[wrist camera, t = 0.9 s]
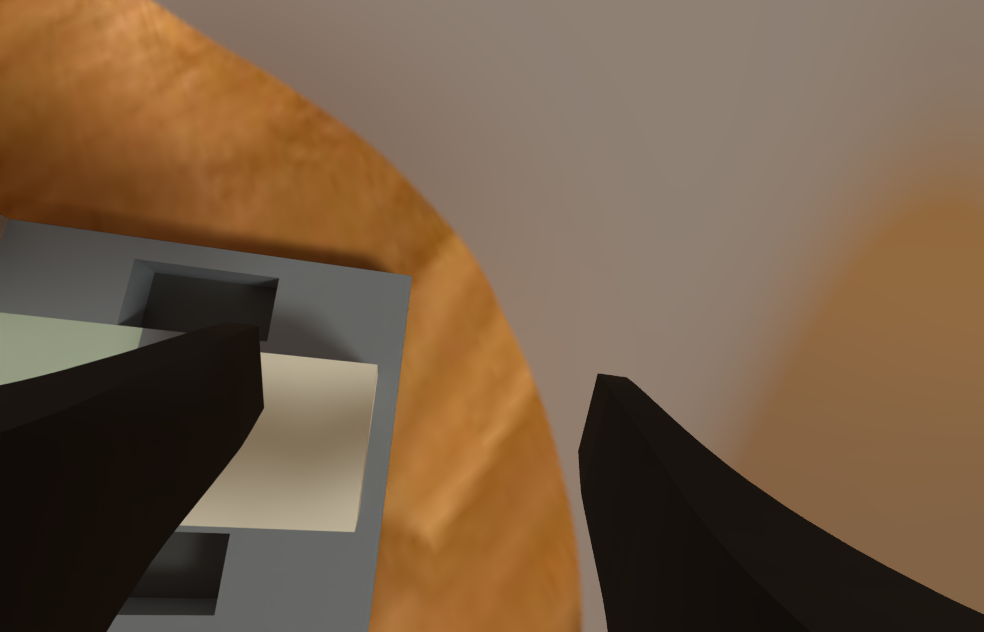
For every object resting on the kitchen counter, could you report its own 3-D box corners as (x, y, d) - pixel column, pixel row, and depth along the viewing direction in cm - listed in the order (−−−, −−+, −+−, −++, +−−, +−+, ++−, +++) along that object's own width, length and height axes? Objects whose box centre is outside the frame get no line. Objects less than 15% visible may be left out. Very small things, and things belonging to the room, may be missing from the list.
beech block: (359, 513, 21) (354, 532, 17) (208, 506, 20) (168, 524, 16) (377, 375, 23) (377, 364, 19) (238, 361, 21) (207, 347, 18)
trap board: (368, 620, 22) (365, 666, 18) (-105, 618, 19) (-247, 674, 15) (408, 289, 26) (414, 262, 22) (22, 237, 23) (-61, 192, 18)
